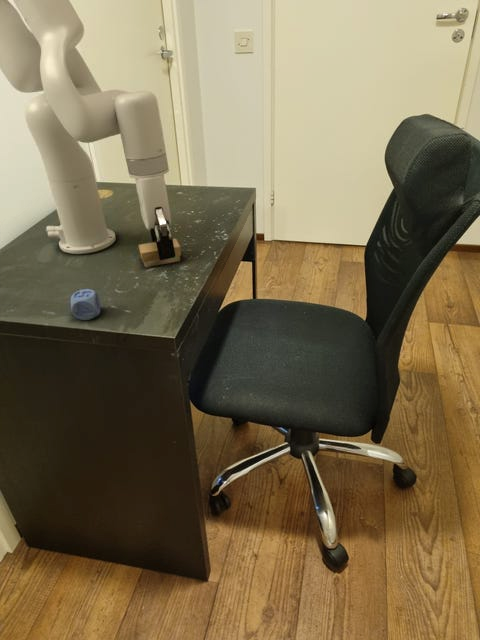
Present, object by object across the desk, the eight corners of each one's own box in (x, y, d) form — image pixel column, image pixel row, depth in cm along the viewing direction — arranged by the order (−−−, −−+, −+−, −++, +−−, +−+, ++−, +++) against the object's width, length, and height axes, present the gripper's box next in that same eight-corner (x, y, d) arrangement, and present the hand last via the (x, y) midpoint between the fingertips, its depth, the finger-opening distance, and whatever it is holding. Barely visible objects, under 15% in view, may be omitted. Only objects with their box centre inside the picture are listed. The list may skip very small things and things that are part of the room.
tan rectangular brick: (143, 268, 96) (141, 253, 94) (141, 259, 100) (138, 244, 98) (182, 261, 98) (180, 246, 96) (178, 252, 102) (176, 238, 100)
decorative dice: (98, 319, 81) (92, 299, 79) (74, 321, 81) (68, 301, 78) (101, 307, 84) (96, 287, 82) (79, 309, 84) (73, 289, 82)
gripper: (123, 158, 94) (140, 238, 103) (132, 179, 80) (151, 269, 89) (160, 152, 96) (173, 231, 105) (175, 172, 81) (189, 261, 91)
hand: (163, 249), depth 97 cm, fingers open, 9 cm apart
